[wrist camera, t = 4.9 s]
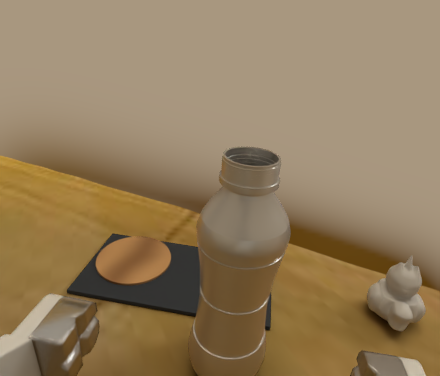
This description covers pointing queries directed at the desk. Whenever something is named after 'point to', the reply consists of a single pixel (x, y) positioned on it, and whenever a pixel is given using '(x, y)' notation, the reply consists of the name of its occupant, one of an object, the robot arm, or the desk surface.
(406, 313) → the white unicorn figurine
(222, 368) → the plastic bottle
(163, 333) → the desk surface
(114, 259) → the copper coaster
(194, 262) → the desk mat
